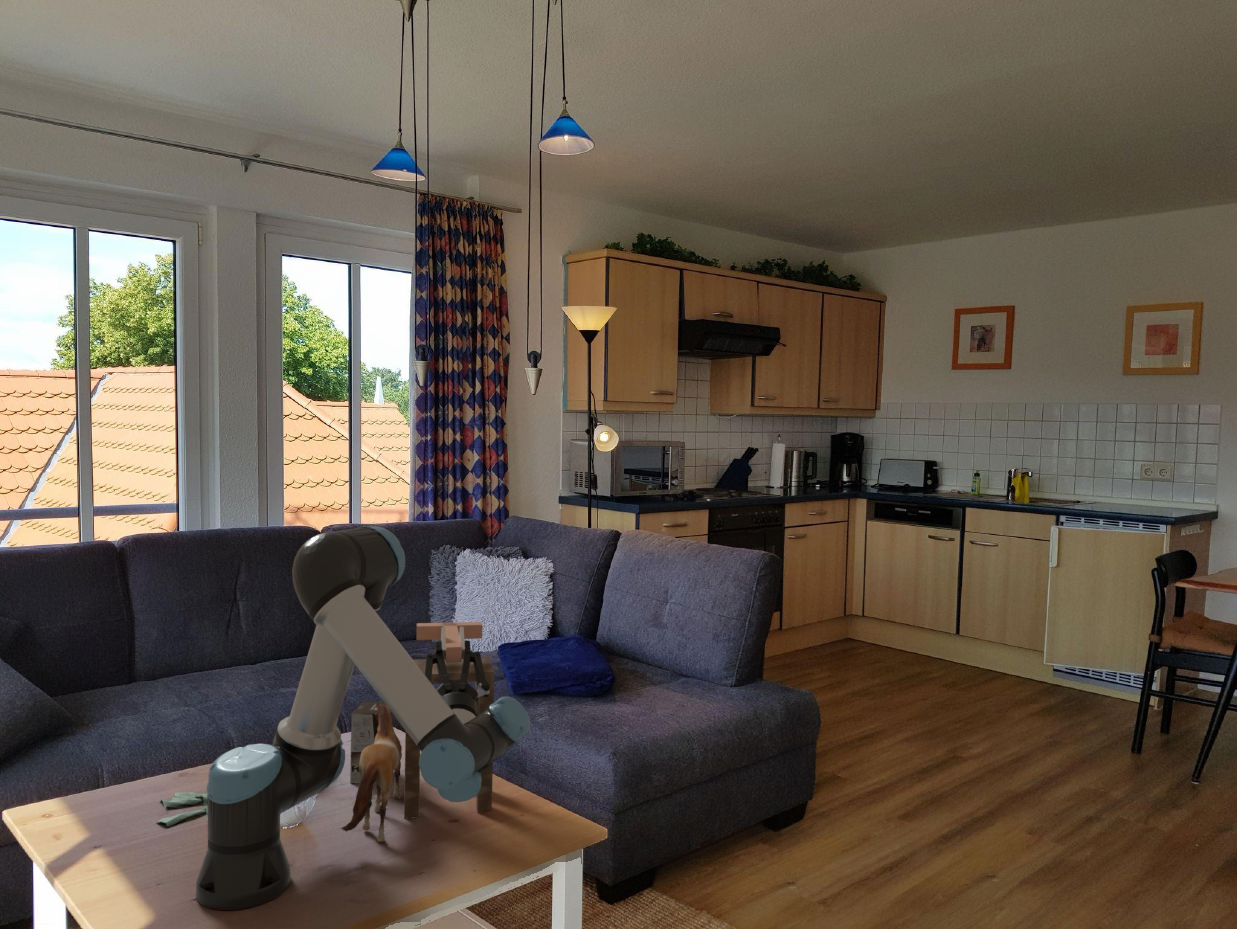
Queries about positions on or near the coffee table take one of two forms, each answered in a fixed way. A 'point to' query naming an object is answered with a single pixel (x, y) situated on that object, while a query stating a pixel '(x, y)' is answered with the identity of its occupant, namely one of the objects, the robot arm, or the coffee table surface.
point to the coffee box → (362, 735)
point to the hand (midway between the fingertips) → (452, 632)
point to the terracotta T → (450, 636)
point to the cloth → (184, 801)
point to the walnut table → (414, 752)
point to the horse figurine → (378, 773)
